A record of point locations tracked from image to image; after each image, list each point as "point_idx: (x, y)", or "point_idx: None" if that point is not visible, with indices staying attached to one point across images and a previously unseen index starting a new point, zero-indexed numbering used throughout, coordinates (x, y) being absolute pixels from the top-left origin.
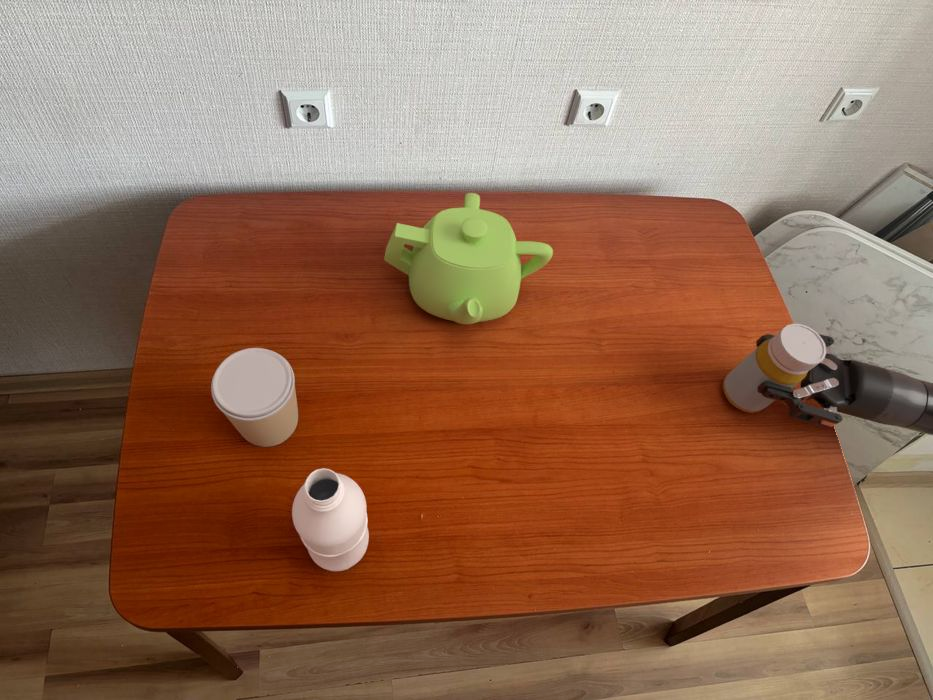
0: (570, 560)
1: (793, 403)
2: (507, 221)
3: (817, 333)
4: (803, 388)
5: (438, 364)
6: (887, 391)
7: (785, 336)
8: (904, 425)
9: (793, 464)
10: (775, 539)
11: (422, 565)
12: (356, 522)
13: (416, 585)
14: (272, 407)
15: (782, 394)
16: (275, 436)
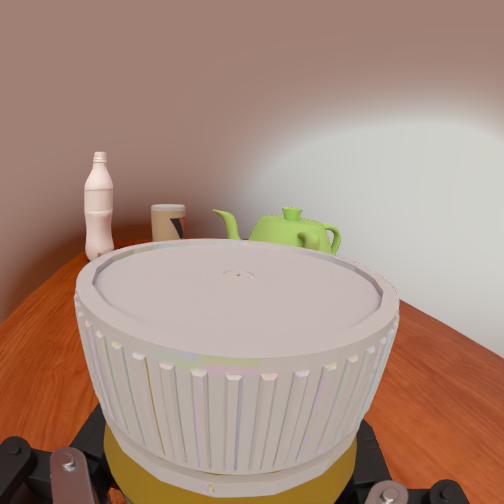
0: (38, 311)
1: (48, 455)
2: (321, 226)
3: (389, 319)
4: (90, 501)
5: None
6: None
7: (261, 251)
8: None
9: None
10: None
11: (76, 273)
12: (88, 182)
13: (68, 271)
14: (154, 206)
15: (87, 431)
16: (153, 238)
